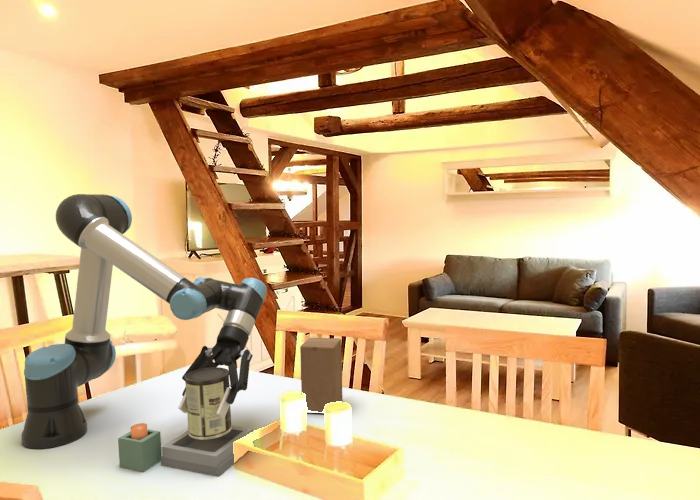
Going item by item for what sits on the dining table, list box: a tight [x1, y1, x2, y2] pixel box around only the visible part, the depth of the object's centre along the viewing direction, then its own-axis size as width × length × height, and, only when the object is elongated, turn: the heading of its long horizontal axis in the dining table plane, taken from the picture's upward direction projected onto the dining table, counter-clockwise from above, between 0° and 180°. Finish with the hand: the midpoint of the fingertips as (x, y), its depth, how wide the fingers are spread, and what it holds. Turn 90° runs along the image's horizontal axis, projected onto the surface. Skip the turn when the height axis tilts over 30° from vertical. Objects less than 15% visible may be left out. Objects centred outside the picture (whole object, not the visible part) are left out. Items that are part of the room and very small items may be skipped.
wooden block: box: [299, 337, 343, 412], centre depth 153 cm, size 10×10×20 cm
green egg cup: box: [117, 428, 162, 473], centre depth 122 cm, size 7×6×7 cm
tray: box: [160, 425, 253, 477], centre depth 125 cm, size 16×15×4 cm
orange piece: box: [130, 423, 149, 440], centre depth 122 cm, size 4×4×5 cm
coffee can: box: [184, 366, 233, 440], centre depth 125 cm, size 10×10×14 cm
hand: (200, 413), depth 122 cm, fingers closed on coffee can, 10 cm apart
